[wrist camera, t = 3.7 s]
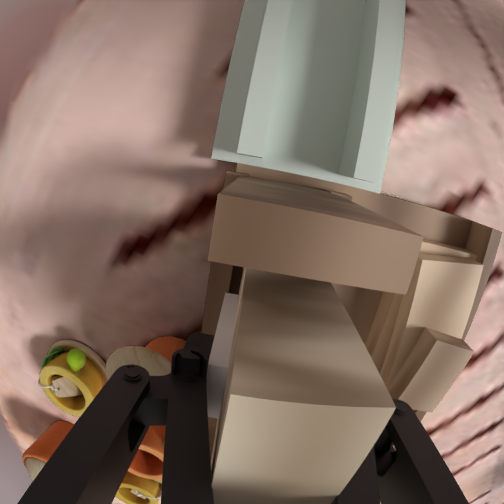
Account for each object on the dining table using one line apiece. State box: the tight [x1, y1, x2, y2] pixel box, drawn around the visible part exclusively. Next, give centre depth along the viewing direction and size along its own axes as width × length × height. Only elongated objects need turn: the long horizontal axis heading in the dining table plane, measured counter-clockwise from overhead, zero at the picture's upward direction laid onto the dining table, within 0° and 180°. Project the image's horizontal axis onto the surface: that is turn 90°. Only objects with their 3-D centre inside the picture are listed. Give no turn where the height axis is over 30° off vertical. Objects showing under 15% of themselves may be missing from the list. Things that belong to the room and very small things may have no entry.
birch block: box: [211, 267, 396, 504], centre depth 13 cm, size 3×9×14 cm, turn 169°
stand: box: [211, 0, 406, 194], centre depth 15 cm, size 10×14×4 cm
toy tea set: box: [23, 336, 186, 504], centre depth 21 cm, size 26×16×10 cm, turn 158°
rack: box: [201, 163, 502, 461], centre depth 15 cm, size 17×16×12 cm
